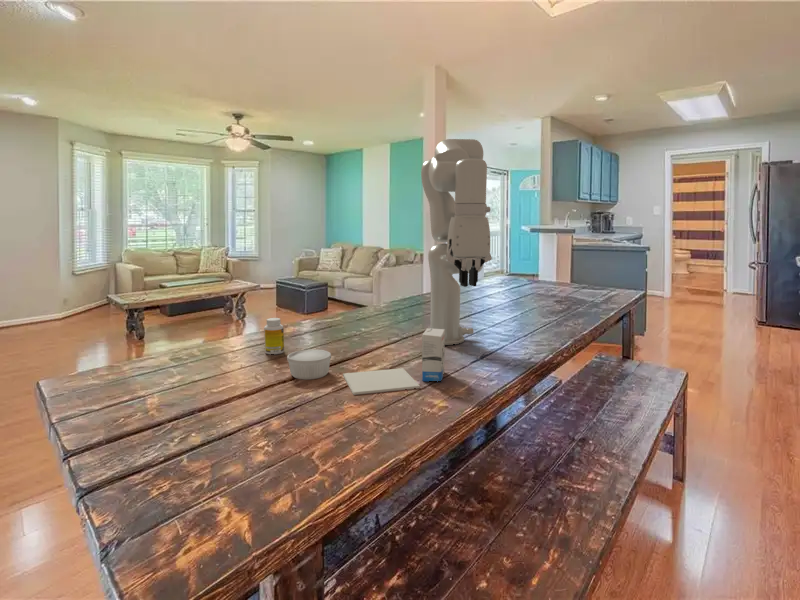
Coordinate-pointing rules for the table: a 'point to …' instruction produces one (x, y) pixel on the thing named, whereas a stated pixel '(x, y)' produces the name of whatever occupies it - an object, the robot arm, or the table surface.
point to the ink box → (433, 354)
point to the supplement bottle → (274, 336)
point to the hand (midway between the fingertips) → (468, 285)
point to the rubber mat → (379, 381)
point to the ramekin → (309, 363)
